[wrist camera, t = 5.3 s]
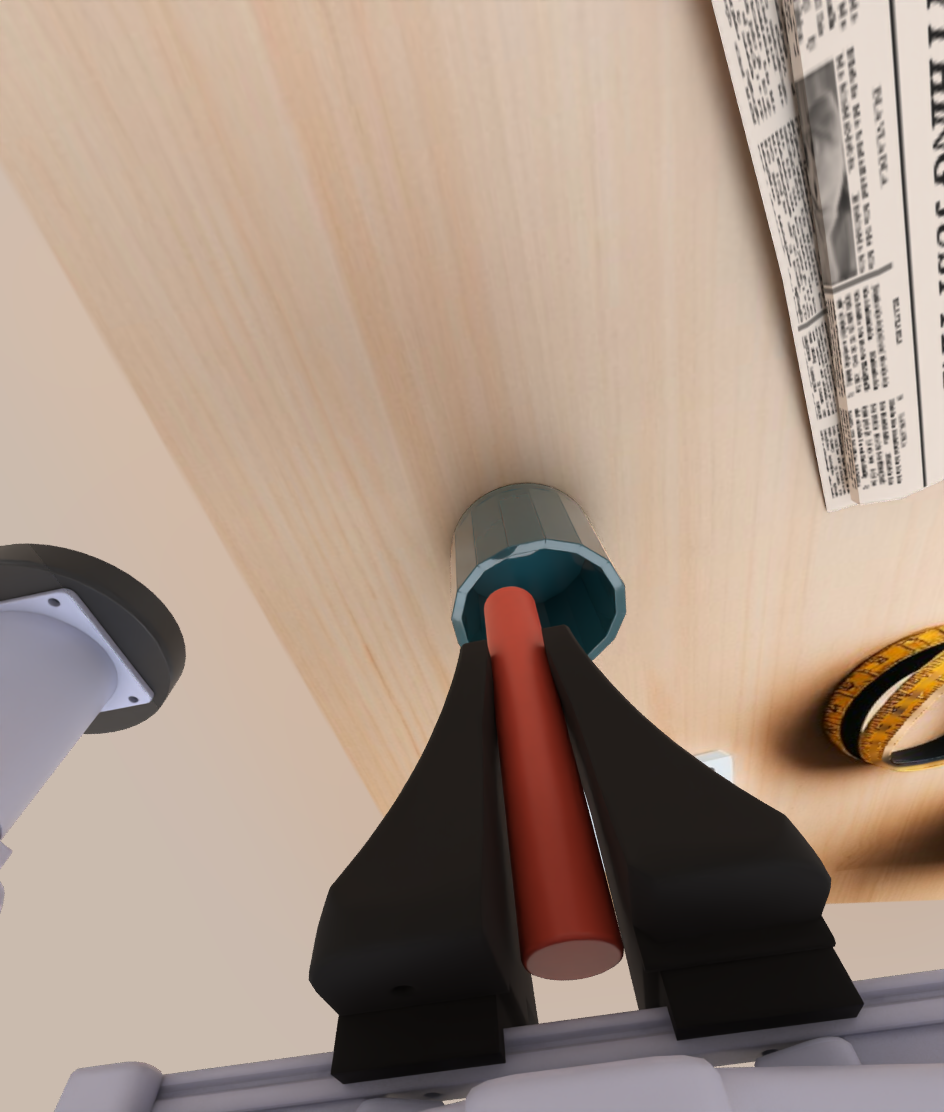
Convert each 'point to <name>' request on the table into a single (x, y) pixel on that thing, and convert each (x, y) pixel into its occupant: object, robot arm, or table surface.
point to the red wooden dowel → (545, 806)
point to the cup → (535, 565)
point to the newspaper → (854, 222)
